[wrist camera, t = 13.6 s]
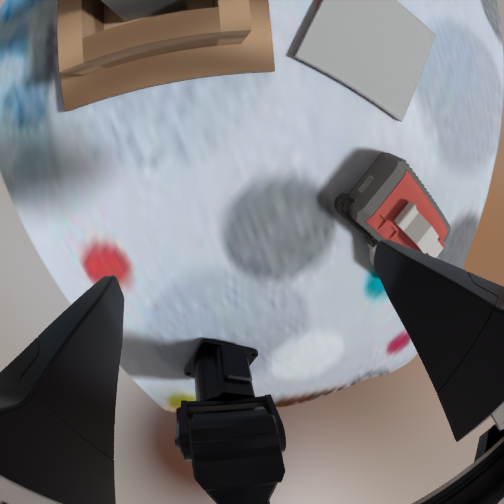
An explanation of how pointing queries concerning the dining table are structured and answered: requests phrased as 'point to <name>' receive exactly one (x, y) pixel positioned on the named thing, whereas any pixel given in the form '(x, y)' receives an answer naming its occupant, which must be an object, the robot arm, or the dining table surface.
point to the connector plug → (144, 7)
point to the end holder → (157, 46)
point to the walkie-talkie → (394, 208)
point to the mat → (369, 49)
